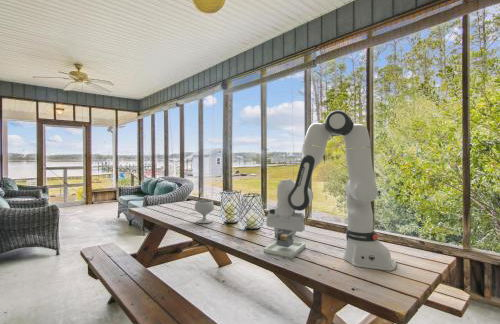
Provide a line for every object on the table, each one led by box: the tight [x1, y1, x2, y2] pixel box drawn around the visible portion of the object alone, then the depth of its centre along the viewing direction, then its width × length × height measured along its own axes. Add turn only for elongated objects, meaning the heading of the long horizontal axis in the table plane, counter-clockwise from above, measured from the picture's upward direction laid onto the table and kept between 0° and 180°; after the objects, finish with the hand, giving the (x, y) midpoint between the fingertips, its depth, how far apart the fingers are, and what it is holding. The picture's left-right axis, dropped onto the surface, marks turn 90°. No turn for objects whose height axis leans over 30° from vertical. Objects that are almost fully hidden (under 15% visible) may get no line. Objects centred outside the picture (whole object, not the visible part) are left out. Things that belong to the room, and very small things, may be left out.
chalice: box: [194, 199, 215, 224], centre depth 202 cm, size 14×14×15 cm
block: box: [280, 234, 287, 241], centre depth 142 cm, size 4×4×4 cm
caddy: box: [276, 231, 294, 247], centre depth 142 cm, size 6×6×6 cm
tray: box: [263, 240, 306, 260], centre depth 143 cm, size 15×19×2 cm
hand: (284, 237), depth 143 cm, fingers closed on caddy, 6 cm apart
